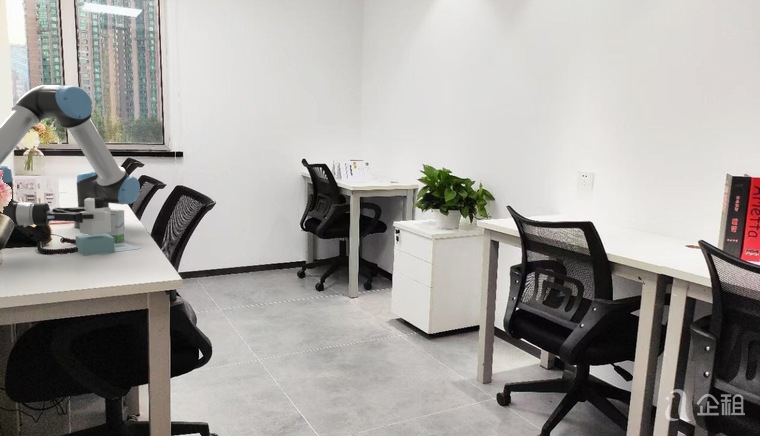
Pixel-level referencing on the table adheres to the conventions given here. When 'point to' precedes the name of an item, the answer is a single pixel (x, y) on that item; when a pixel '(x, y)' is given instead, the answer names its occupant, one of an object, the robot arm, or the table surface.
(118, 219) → the ink box
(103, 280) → the table surface
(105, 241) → the base brick
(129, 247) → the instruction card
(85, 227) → the grey stepped block
